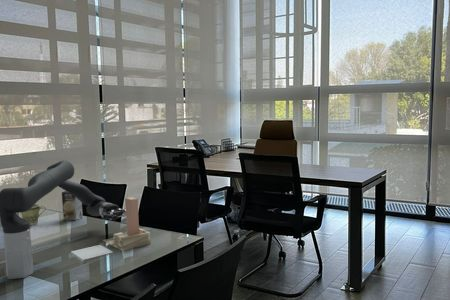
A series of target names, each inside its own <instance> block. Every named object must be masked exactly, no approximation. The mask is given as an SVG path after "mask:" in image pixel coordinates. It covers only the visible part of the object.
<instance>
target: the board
mask: <svg viewBox="0 0 450 300" xmlns="http://www.w3.org/2000/svg"><path fill="white" fill-rule="evenodd" d="M124 200H125V201H124V202H125V203H124V204H125V209H126V216H125V218H126V219H125V220H126V235H128V236H132V235H137V234H139V228H140V224H139V220H140V219H139V218H140V217H139V205H138V198H137V197H132V196H128V197H125V198H124Z"/></svg>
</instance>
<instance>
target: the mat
mask: <svg viewBox="0 0 450 300" xmlns="http://www.w3.org/2000/svg"><path fill="white" fill-rule="evenodd" d="M112 253H113V250H110V249H109V248H107V247H105V246H103V245H101V244H99V245H98V244H97V245H93V246H90V247H89V246H88V247H85V248H81V249H80V248H79V249H76V250H71V251H70V255H71V256H72V255H73V256H74V258H75V257H76V258H77V259H76V258H75V259H76V260H78V261H79V260H80V261H79V262H81V263H82V262H83V263H82V264H86V262H87V261H86V260H88V259H92V258H96V257H100V256H103V255H108V254H112ZM73 256H72V257H73Z"/></svg>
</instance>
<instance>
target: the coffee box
mask: <svg viewBox="0 0 450 300" xmlns="http://www.w3.org/2000/svg"><path fill="white" fill-rule="evenodd" d="M61 201H62V202H61V203H62V218H63V220H64V221H65V220H66V221H78V220H80V219H79V218H81V217H83V203H82V202H81V201H80V200H78V199H77V198H76V197H75V196H74V195H72V194H71V193H69V192H67V191H66V190H64V191H62V192H61ZM77 219H78V220H77ZM81 219H82V218H81Z"/></svg>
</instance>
